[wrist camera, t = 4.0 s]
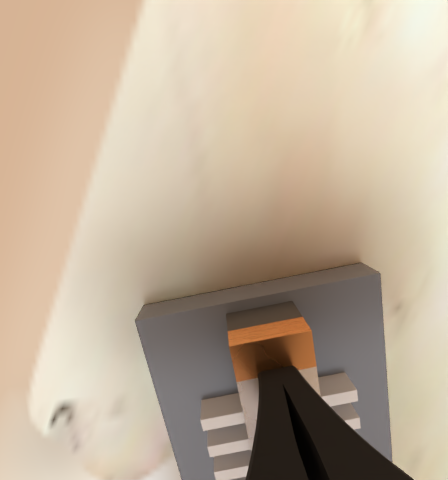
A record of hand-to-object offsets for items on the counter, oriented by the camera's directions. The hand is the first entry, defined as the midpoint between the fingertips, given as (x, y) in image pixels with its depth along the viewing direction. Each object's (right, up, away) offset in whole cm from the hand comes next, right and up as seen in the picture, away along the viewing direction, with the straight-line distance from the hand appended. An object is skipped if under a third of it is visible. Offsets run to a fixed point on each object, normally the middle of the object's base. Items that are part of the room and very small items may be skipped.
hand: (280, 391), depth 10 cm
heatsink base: (+1, -3, +5) cm, 6 cm away
